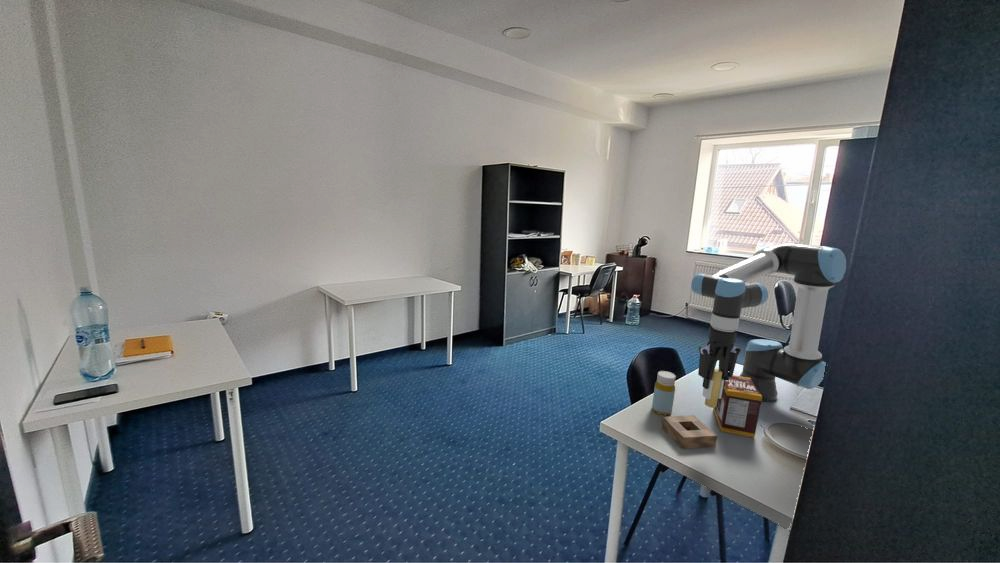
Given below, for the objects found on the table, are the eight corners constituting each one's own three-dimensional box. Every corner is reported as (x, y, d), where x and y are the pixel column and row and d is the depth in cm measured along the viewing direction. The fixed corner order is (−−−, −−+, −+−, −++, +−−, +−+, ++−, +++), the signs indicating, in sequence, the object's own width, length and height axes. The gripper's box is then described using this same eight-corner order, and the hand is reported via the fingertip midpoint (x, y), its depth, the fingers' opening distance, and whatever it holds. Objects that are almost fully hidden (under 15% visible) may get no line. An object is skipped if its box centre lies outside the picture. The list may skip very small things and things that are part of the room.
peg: (711, 401, 127) (717, 368, 125) (718, 407, 124) (724, 372, 121) (702, 402, 127) (707, 368, 124) (709, 408, 123) (715, 373, 121)
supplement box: (743, 415, 146) (750, 377, 143) (754, 438, 132) (763, 396, 128) (712, 409, 149) (719, 372, 146) (720, 431, 135) (728, 390, 132)
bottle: (673, 417, 143) (678, 379, 140) (653, 414, 144) (658, 377, 141) (669, 407, 149) (674, 371, 146) (650, 404, 151) (655, 369, 148)
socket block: (692, 425, 138) (694, 415, 137) (715, 446, 126) (717, 435, 126) (661, 427, 136) (662, 416, 135) (682, 448, 125) (683, 437, 124)
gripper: (736, 323, 125) (725, 389, 130) (692, 324, 122) (681, 392, 127) (755, 331, 117) (742, 401, 123) (708, 332, 115) (696, 404, 120)
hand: (711, 396), depth 125 cm, fingers closed on peg, 3 cm apart
